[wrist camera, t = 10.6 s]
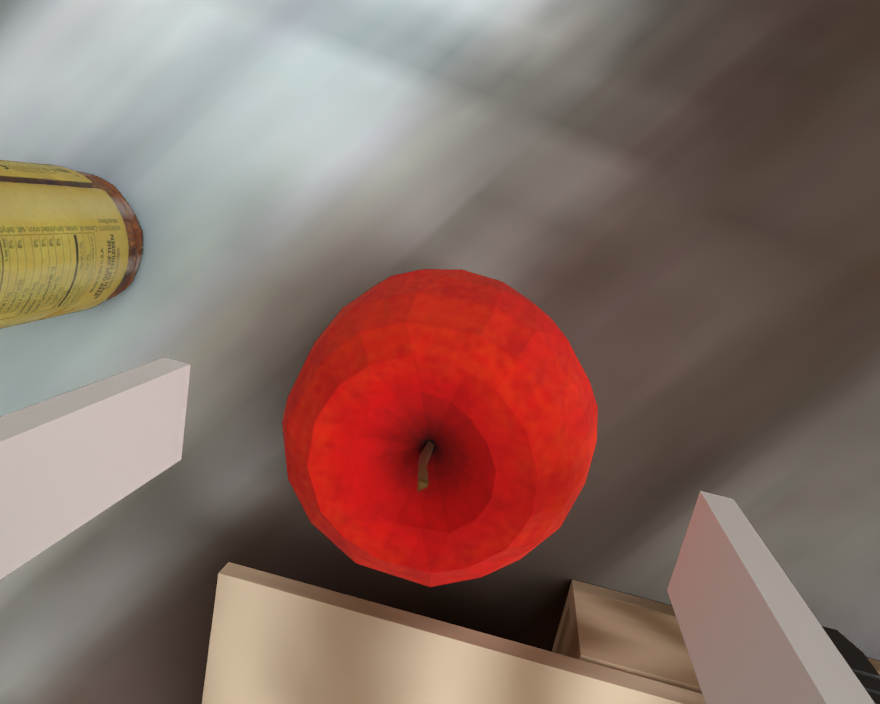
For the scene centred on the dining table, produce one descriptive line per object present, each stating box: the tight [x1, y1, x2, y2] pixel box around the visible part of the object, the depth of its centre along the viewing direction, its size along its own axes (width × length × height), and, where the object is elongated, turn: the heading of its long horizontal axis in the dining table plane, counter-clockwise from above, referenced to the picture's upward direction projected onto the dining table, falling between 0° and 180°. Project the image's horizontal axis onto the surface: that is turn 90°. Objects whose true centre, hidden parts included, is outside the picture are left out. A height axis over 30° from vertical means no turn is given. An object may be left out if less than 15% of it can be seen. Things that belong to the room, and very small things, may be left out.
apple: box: [282, 269, 598, 587], centre depth 20 cm, size 10×10×12 cm
